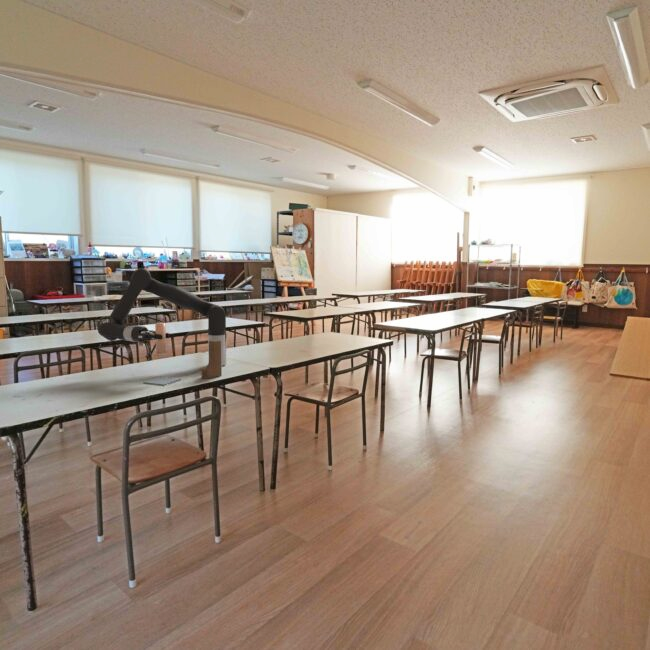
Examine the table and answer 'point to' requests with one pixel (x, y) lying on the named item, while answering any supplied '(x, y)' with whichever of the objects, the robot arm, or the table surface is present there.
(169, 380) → the rubber mat
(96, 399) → the table surface
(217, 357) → the brown boot
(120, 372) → the table surface
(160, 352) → the tan tall cylinder
